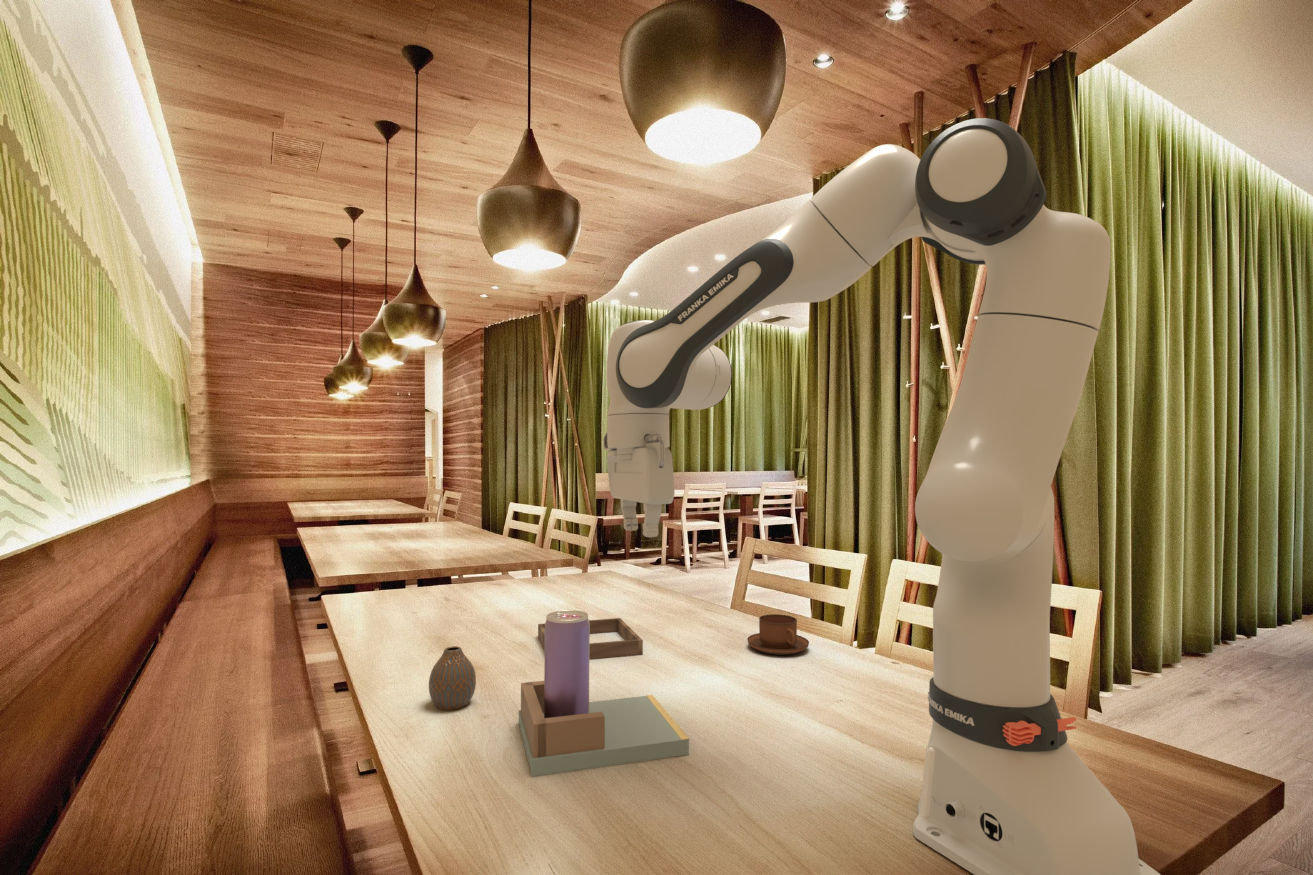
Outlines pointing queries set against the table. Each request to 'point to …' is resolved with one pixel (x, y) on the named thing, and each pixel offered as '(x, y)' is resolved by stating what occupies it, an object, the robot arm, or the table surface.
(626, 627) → the serving tray frame
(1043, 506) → the robot arm
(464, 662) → the vase
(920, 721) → the table surface
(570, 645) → the beverage can
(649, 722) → the dock
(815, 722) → the table surface
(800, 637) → the cup and saucer
